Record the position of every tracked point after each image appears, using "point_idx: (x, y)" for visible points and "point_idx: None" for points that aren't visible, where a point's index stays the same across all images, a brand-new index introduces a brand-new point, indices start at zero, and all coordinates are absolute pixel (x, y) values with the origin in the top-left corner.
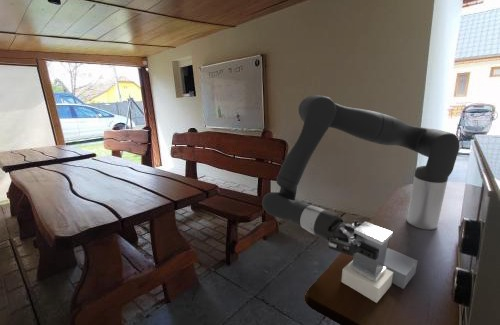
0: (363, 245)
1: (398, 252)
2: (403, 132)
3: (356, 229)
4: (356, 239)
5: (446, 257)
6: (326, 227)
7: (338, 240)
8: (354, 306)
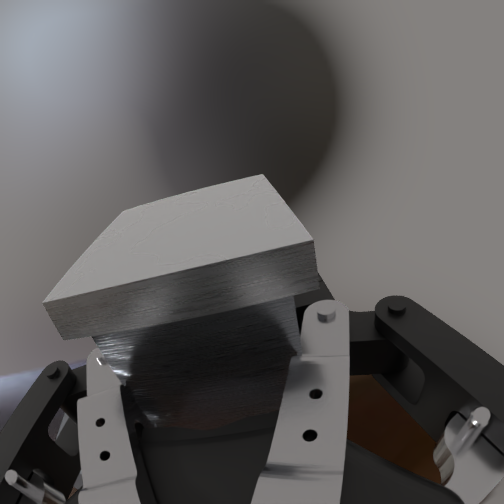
0: (304, 297)
1: (64, 416)
2: None
3: (292, 234)
4: (298, 341)
5: (20, 378)
6: None
7: (479, 385)
8: (393, 411)
